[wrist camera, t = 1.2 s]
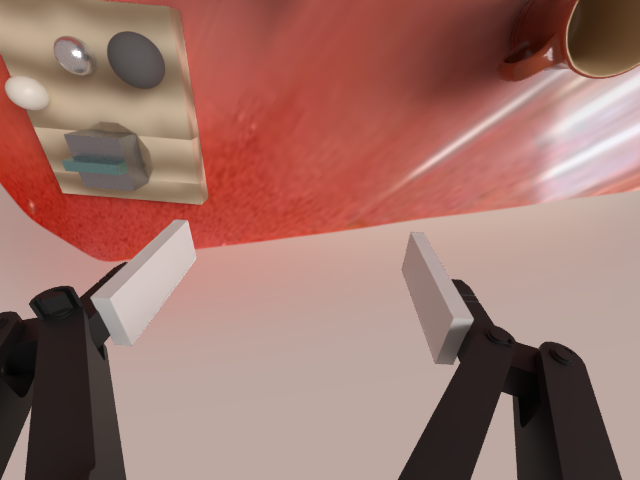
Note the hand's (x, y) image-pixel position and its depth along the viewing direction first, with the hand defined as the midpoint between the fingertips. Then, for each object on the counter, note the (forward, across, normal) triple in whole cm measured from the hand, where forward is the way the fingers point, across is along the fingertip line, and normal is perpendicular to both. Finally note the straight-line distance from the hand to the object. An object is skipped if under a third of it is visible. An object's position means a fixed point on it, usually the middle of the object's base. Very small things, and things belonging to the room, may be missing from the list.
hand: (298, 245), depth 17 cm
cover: (+22, -26, -2) cm, 34 cm away
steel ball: (+20, -26, +10) cm, 34 cm away
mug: (+24, +22, +13) cm, 35 cm away
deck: (+24, -26, +4) cm, 36 cm away
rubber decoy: (+19, -19, +9) cm, 28 cm away
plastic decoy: (+20, -33, +6) cm, 39 cm away
